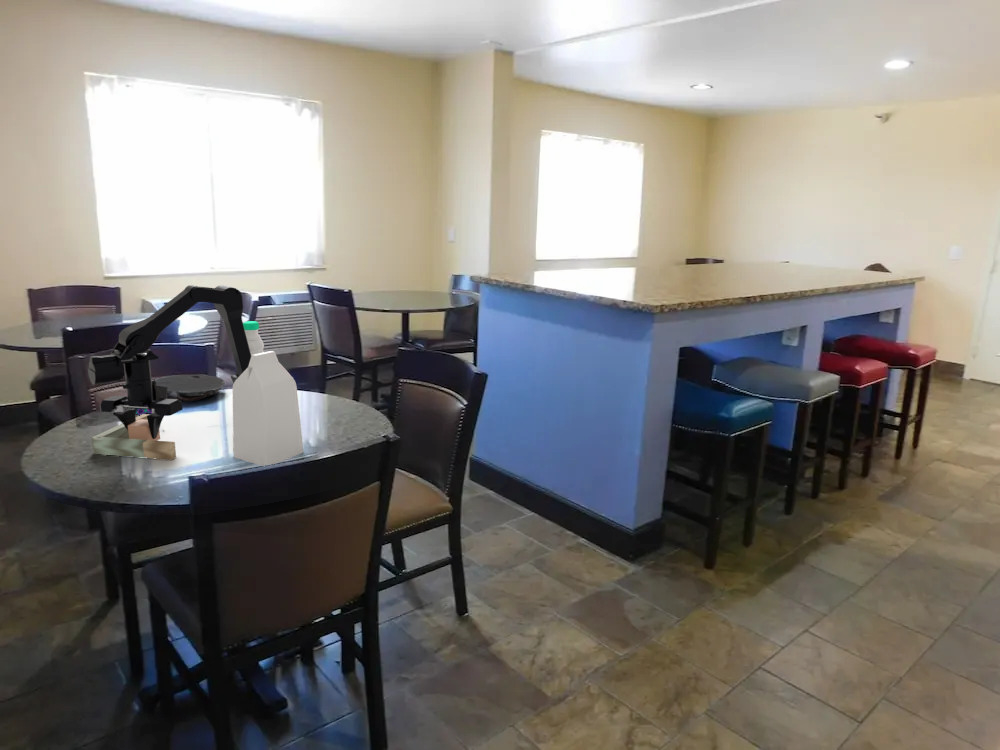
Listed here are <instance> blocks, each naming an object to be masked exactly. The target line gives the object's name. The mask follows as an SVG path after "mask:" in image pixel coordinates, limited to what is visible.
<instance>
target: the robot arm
mask: <svg viewBox="0 0 1000 750" xmlns="http://www.w3.org/2000/svg"><path fill="white" fill-rule="evenodd" d="M200 302H201V303H210V304H213V306H214V308H215V309H216V310H215V311H217V313H218V314H219V315H220V317H221V318H222V320H223V323H224V327H225V331H226V335H227V338H228V343H229V345H230V349H231V353H232V357H233V360H234V364H235V368H236V371H235V374H233V375H230V378H231V379H230V380H232V383H233V384H234V382H235V381H236V379H237V378H238V377H239V376H240V375H241V374H242V373H243V372H244V371H245V370H246V369H247V368H248V366H249V362H250V359H251V353H250V349H249V345H248V341H247V337H246V334H245V330H244V326H243V323H244V322H243V318H242V317H243V312H244V300H243V294H242V292H241V291H240V290H239V289H237V288H235V287H231V286H228V285H217V286H216V287H208V286H207V287H206V286H198V285H194V284H189V285H187V286H186V287H185V288H184V289H183V290H182V291H181V292H180V293H178V294H177V295H176V296H174V297H173V298H171V299H170V300H169V301H168V302H166V304H164V305H163V306H161V307H160V308H158V310H156V311H155V312H153V314H151V315H150V316H148V317H147V318H145V319H142V320H140V321H137V322H135V323H132V324H130V325H129V326H127V327H125V328H123V329H122V330H121V331H120V332H119V334H118V341H117V343H116V344H115V346H113V349H112V350H111V351H110V354H106V355H90V356H89V362H88V368H87V373H88V378H89V380H90V383H91V384H92V385H93V386H95V385H96V386H97V385H102V384H109V383H111V384H112V383H117V382H120V381H121V380H122V379H123V378H125V383H123V384H122V389H125V390H126V395H127V396H126V395H112V396H109V397H107V398H104V399H102V400H101V402H100V403H99V409H100V410H99V411H100V412H103V413H112V412H113V413H112V415H113V416H115V417H116V418H117V419H118V420H119V421H120V422H121V424H122V423H123V425H124V426H125V427H126V429H127V430H128V425H129V424H131V423H133V422H136V418H135V417H136V416H137V415H136V411H137V409H149V410H152V414H150V415H148V416H147V419H148V424H149V428H150V432H151V436H152V438H153V439H155V438H157V434H158V431H160V428H161V424H162V421H163V420H164V417H170V416H173V415H174V414H176V413H178V412H180V411H183V402H182V401H180V400H179V399H167V390H168V387H163V386H156V382H155V380H156V379H152V371H151V370H152V369H151V361H155V360H158V359H159V358H160V357H159V356H158V355H157V354H155V353H154V352H153V351H152V350H151V349H150V348H151V347H152V345H154V344H155V342H157V340H158V338H159V336H160V335H161V333H162V332H163V331H164V330H165V329H166V328H168V327H169V326H170V325H171V324H173V322H175V321H176V320H178V319H179V318H180V317H182V316H183V315H184V314H185V313H186V312H187V311H189V310H190V309H192V308H193V307H194V306H195V305H197V304H198V303H200ZM233 384H232V385H233ZM160 399H162V400H160ZM159 400H160V401H159ZM156 401H158V402H156ZM144 405H148V406H144Z"/></svg>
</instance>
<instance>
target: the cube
mask: <svg viewBox="0 0 1000 750" xmlns="http://www.w3.org/2000/svg"><path fill="white" fill-rule="evenodd" d="M160 432H161V431H160V430H159V431H158V434H157V438H155V439H153V438H152V436H151V432H150V428H149V424H148V420H144V419H140V420H138V421H136V422H133V423H131V424H129V425H128V433H129V439H140V440H154V441H160V440H161V435H160Z"/></svg>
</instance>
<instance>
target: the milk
mask: <svg viewBox="0 0 1000 750" xmlns="http://www.w3.org/2000/svg"><path fill="white" fill-rule="evenodd" d="M297 387H298V386H297V383H296V380H295V379H294V377H293V376H292V375H291V374H290V372H288V370H287V369H286V368H285V367H284V366H283V365H282V363H281V362H279V359H278V356H277V354H276V351H273V350H270V351H264V352H263V353H259V354H254V355H252V356H251V359H250V362H249V366H248V368H247V369H246V370H245V371H244V372H243V373H242V374H241V375H240V376H239V377H238V378H237V379H236V381H235V382H234V384H232V437H233V439H232V441H233V442H232V443H233V447H232V448H233V449H232V450H233V458H234V459H238V460H241V461H244V462H248V463H251V464H255V465H258V466H261V467H265V466H264V465H270V464H273V465H275V464H278V463H280V462H283V461H285V460H288V459H291V458H294V457H295V456H298V455H301V454H303V453H304V444H303V443H304V442H303V433H302V427H301V425H302V424H301V417H300V416H301V415H300V406H299V399H298V398H299V396H298V388H297ZM270 466H271V465H270Z"/></svg>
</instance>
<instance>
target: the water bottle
mask: <svg viewBox="0 0 1000 750" xmlns="http://www.w3.org/2000/svg"><path fill="white" fill-rule="evenodd" d="M243 326H244V330H245V334H246V337H247V341H248V345H249V349H250V353H251V356H252V355H254V354H259V353H263V352H265V351H264V347H265V344H264V341H263V340H262V338H261V335H260V334H259V333H258V332H259V329H260V325H259V322H258V321H252V320H251V321H250V320H249V321H244V322H243Z"/></svg>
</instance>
